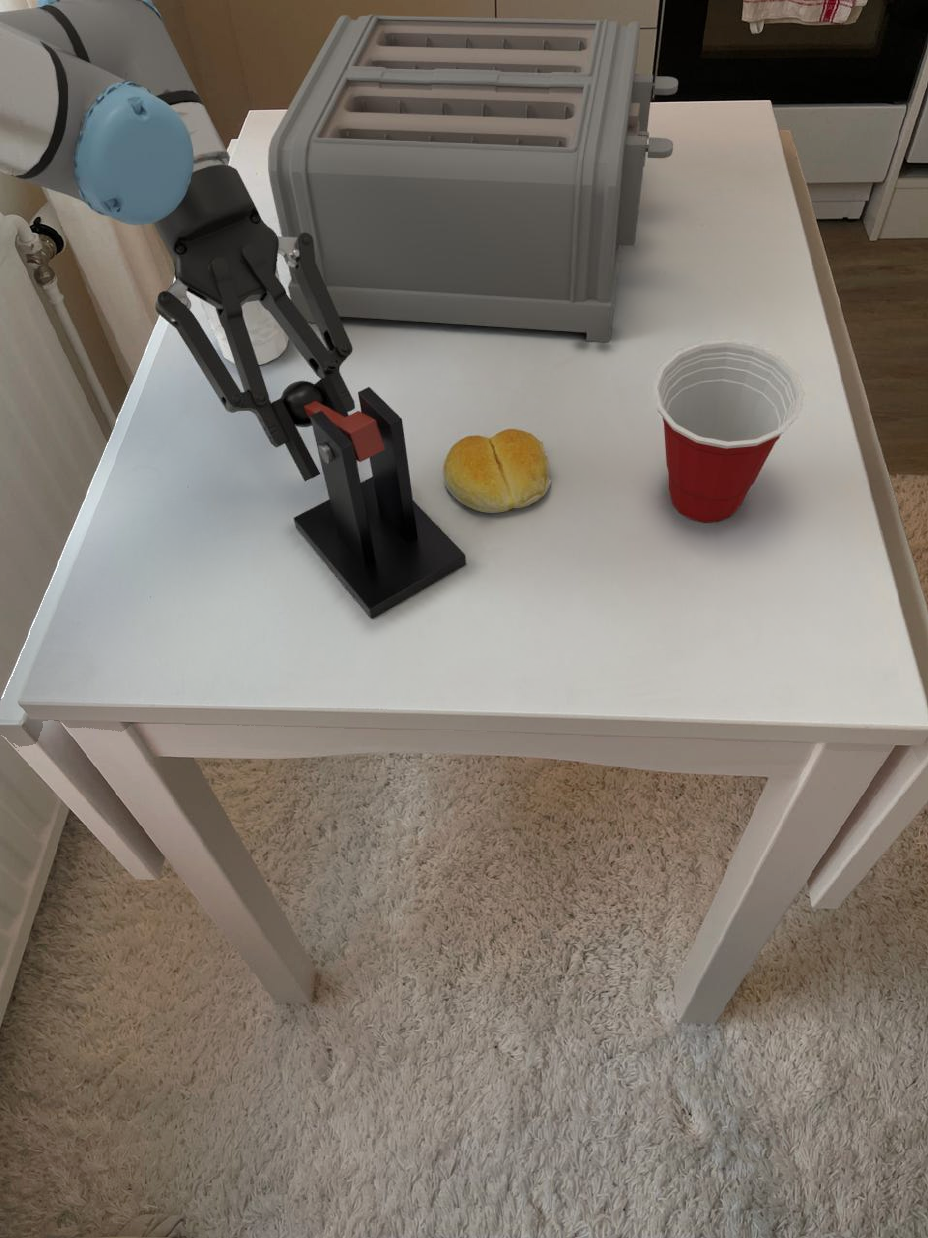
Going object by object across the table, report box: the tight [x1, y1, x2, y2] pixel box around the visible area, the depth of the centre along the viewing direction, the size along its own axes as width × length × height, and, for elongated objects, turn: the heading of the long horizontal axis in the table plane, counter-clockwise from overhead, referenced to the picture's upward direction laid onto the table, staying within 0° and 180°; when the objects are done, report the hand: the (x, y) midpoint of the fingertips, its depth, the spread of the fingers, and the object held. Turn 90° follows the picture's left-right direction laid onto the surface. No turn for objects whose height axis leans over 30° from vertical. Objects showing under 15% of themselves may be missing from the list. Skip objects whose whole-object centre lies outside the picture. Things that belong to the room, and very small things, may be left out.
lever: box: [280, 380, 385, 463], centre depth 72 cm, size 13×4×4 cm, turn 35°
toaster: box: [267, 13, 679, 343], centre depth 96 cm, size 31×36×17 cm
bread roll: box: [442, 428, 552, 514], centre depth 80 cm, size 8×9×4 cm
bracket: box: [293, 386, 467, 620], centre depth 72 cm, size 12×9×14 cm
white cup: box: [199, 265, 290, 366], centre depth 90 cm, size 8×8×10 cm
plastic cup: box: [652, 339, 806, 523], centre depth 74 cm, size 11×11×12 cm
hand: (335, 465), depth 77 cm, fingers closed on lever, 4 cm apart
